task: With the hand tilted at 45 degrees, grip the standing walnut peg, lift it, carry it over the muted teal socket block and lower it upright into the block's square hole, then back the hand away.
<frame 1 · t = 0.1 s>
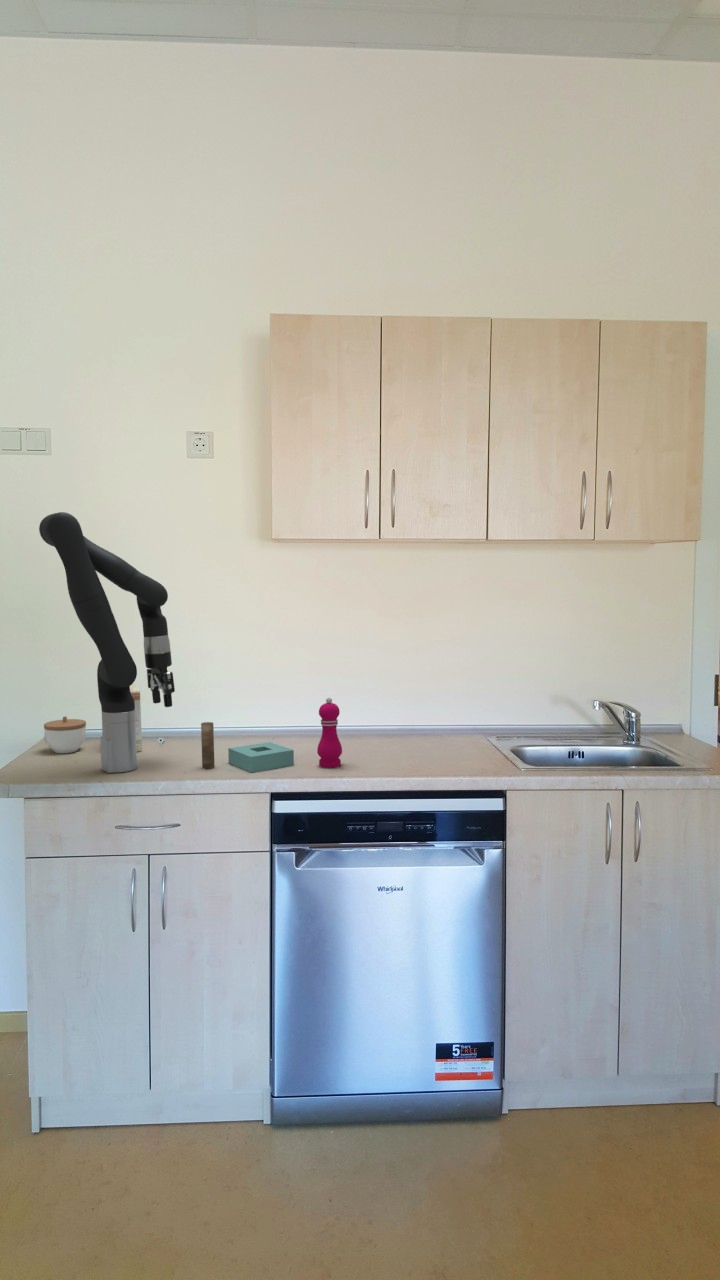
hand: (162, 704, 241), 17 cm above the countertop, tool pointing down, fingers open, 8 cm apart
lidded bowl: (66, 751, 259), on the countertop
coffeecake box: (129, 748, 262), on the countertop
pepper mill: (329, 766, 236), on the countertop
socket block: (261, 764, 239), on the countertop
peg: (208, 767, 235), on the countertop
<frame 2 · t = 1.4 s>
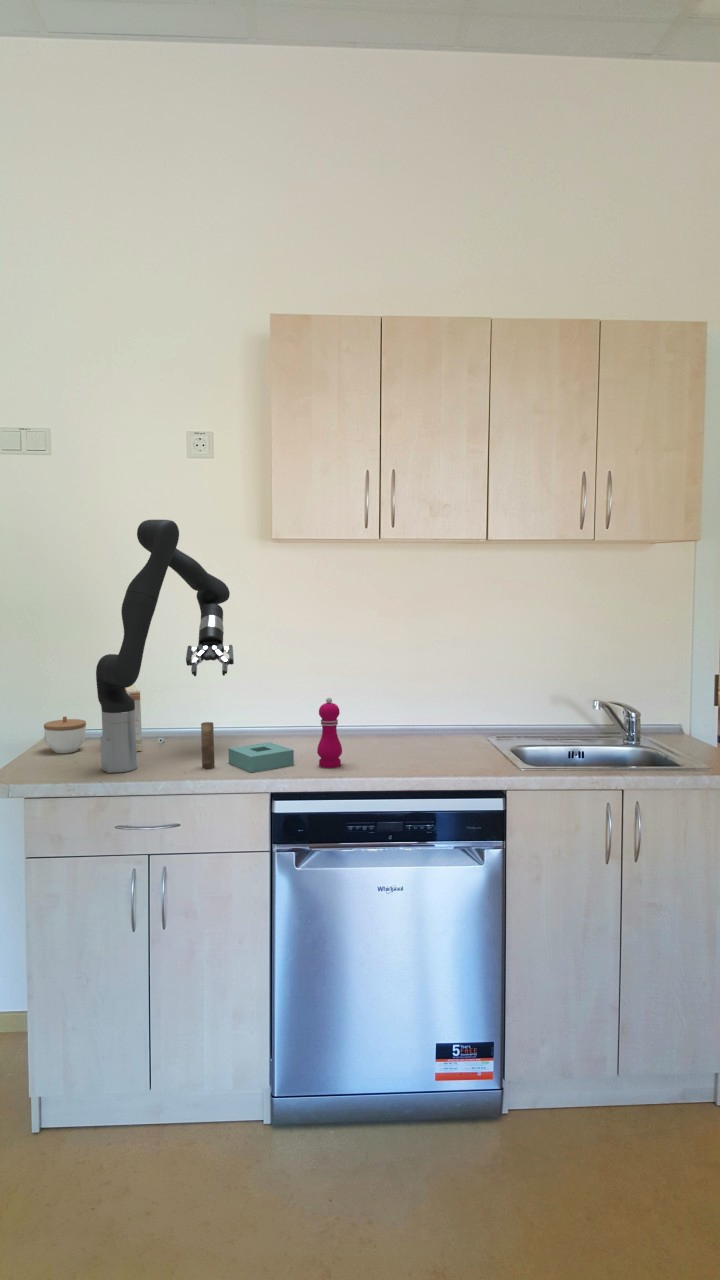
hand: (209, 674, 244), 26 cm above the countertop, tool tilted 45°, fingers open, 8 cm apart
nothing on the countertop moved.
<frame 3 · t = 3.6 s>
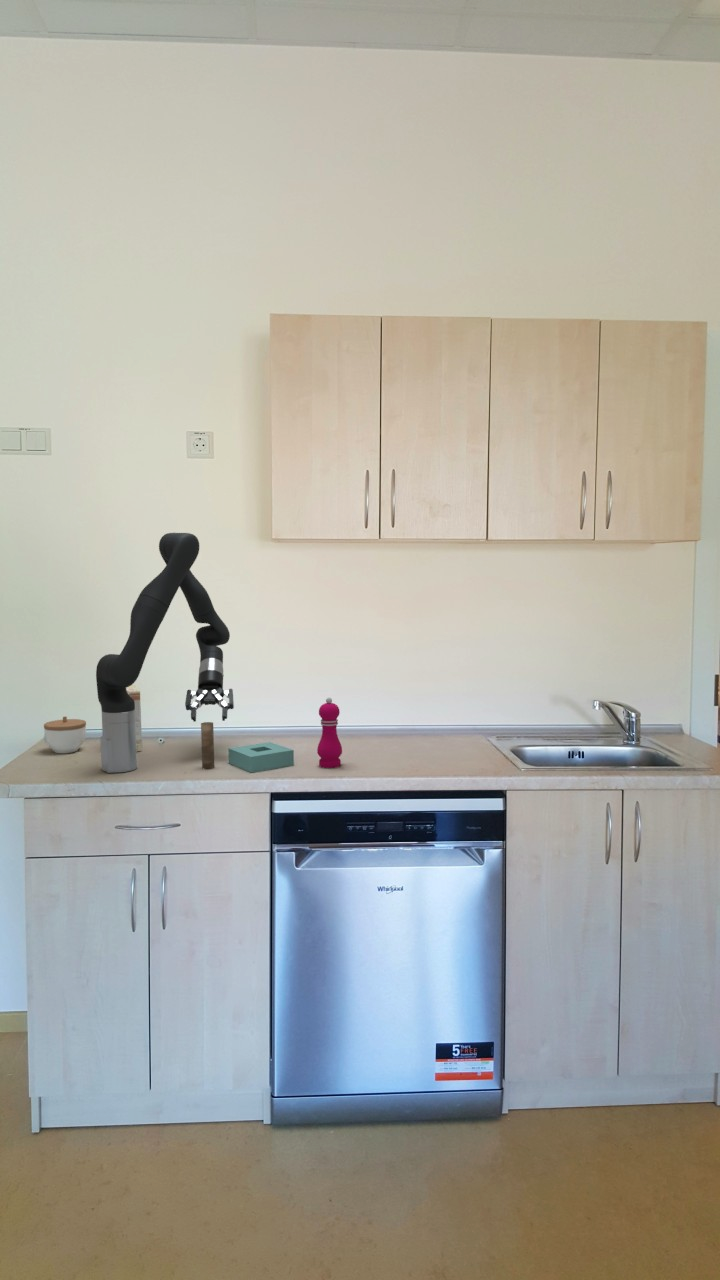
hand: (209, 719, 241), 13 cm above the countertop, tool tilted 45°, fingers open, 8 cm apart
nothing on the countertop moved.
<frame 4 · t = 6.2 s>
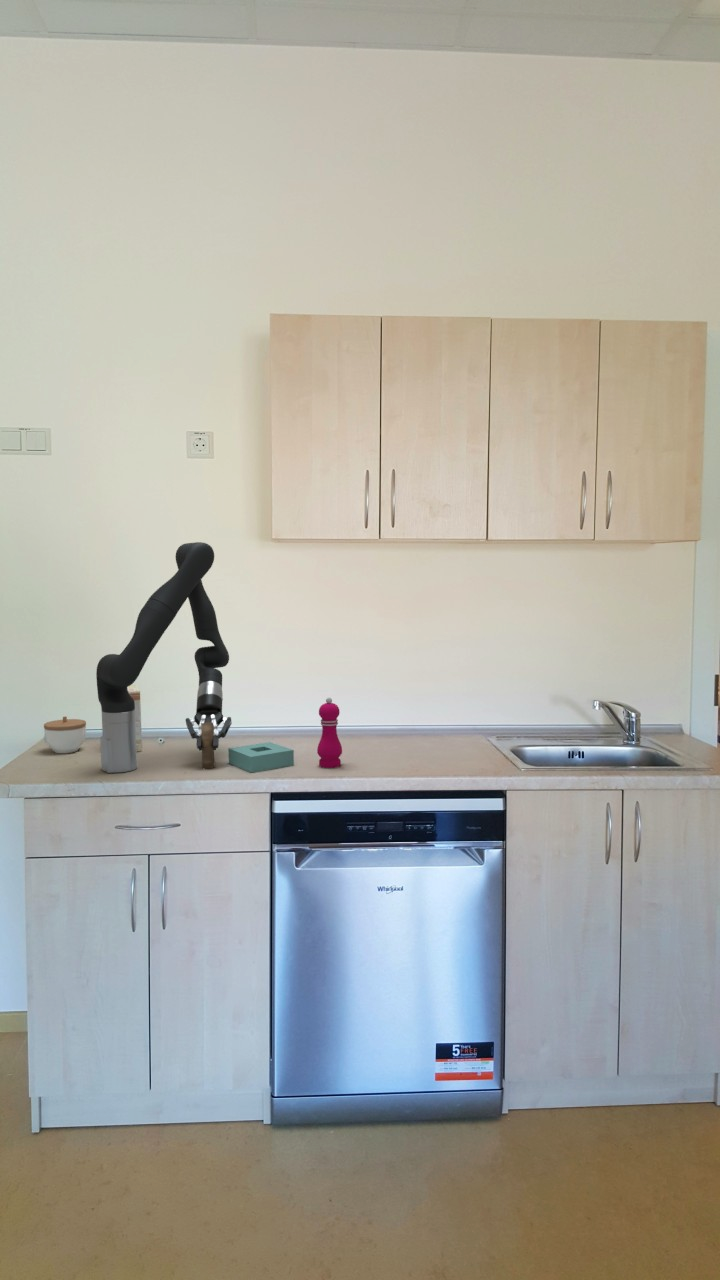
hand: (207, 748, 233), 6 cm above the countertop, tool tilted 45°, fingers closed on peg, 3 cm apart
peg: (208, 767, 235), on the countertop, touching gripper
everything else where it was.
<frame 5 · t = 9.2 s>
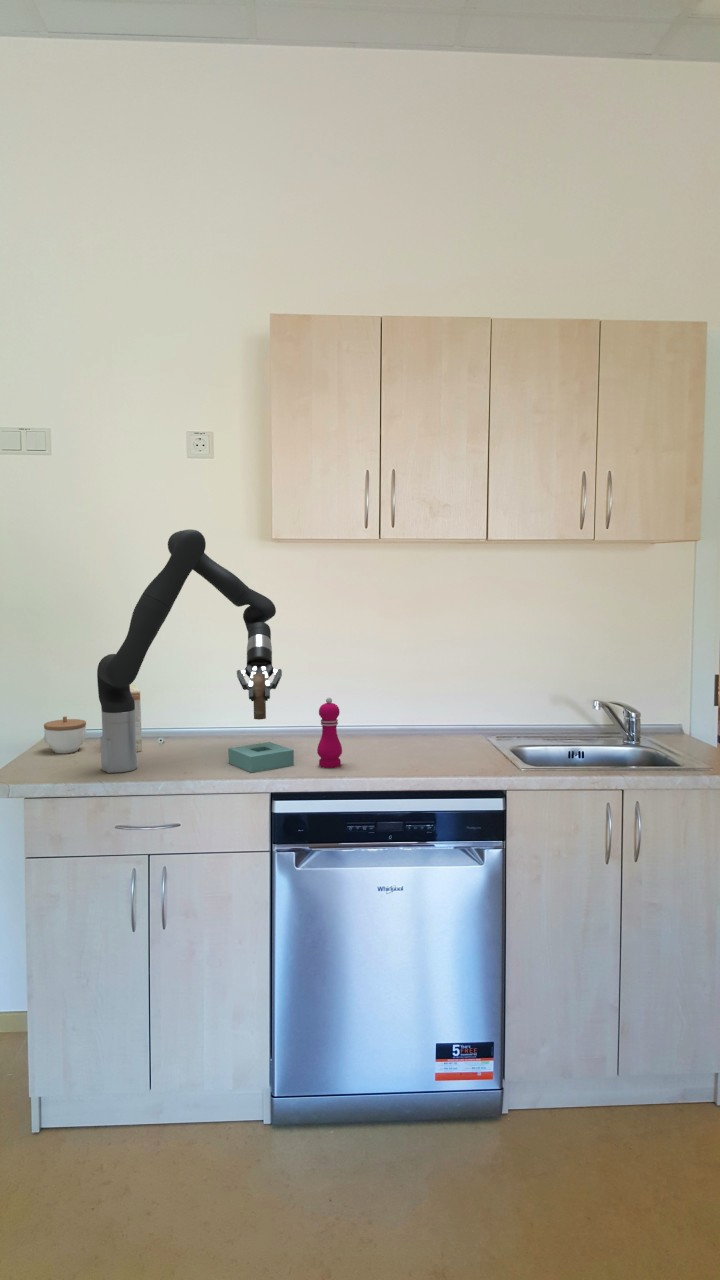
hand: (259, 699, 235), 20 cm above the countertop, tool tilted 45°, fingers closed on peg, 3 cm apart
peg: (259, 718, 237), point 14 cm above the countertop, touching gripper
everything else where it was.
when the fingers open (8 cm above the countertop, at t = 12.1 s): peg drops 2 cm, resting in socket block.
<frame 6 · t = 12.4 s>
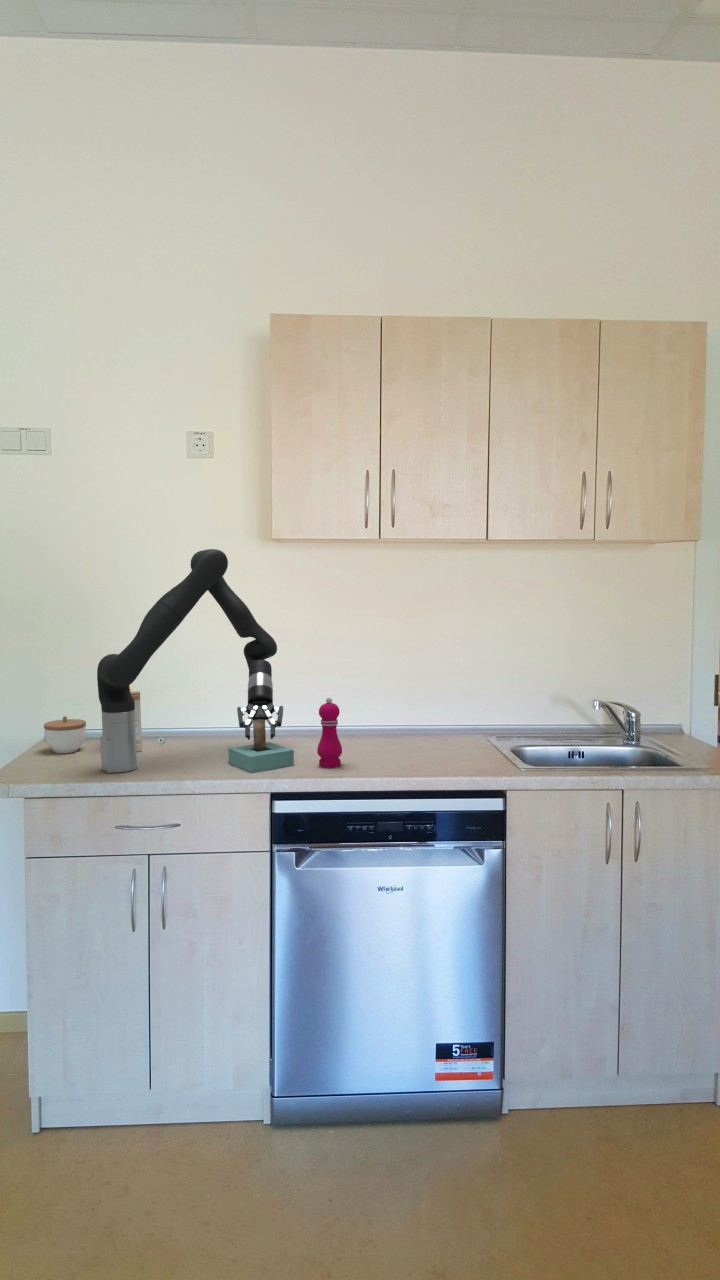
hand: (260, 737, 236), 8 cm above the countertop, tool tilted 45°, fingers open, 6 cm apart
peg: (260, 764, 239), resting in socket block
everything else where it was.
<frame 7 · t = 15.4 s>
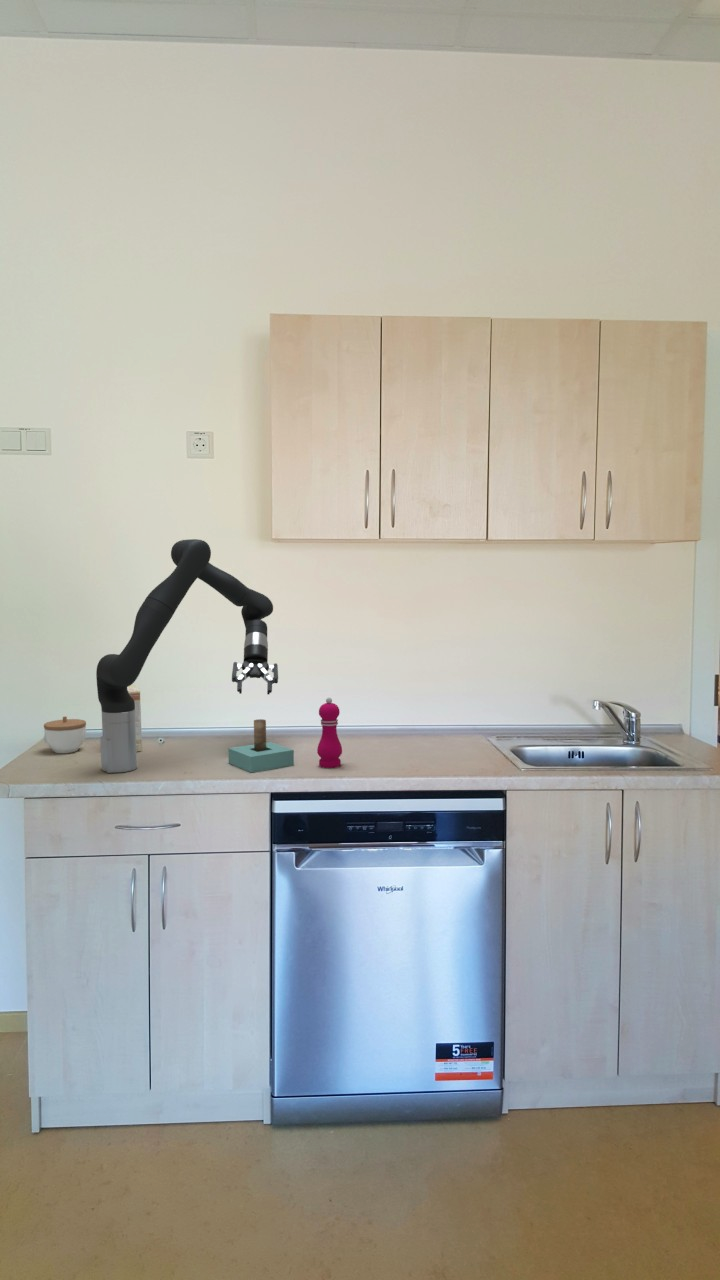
hand: (254, 692, 249), 19 cm above the countertop, tool tilted 40°, fingers open, 8 cm apart
nothing on the countertop moved.
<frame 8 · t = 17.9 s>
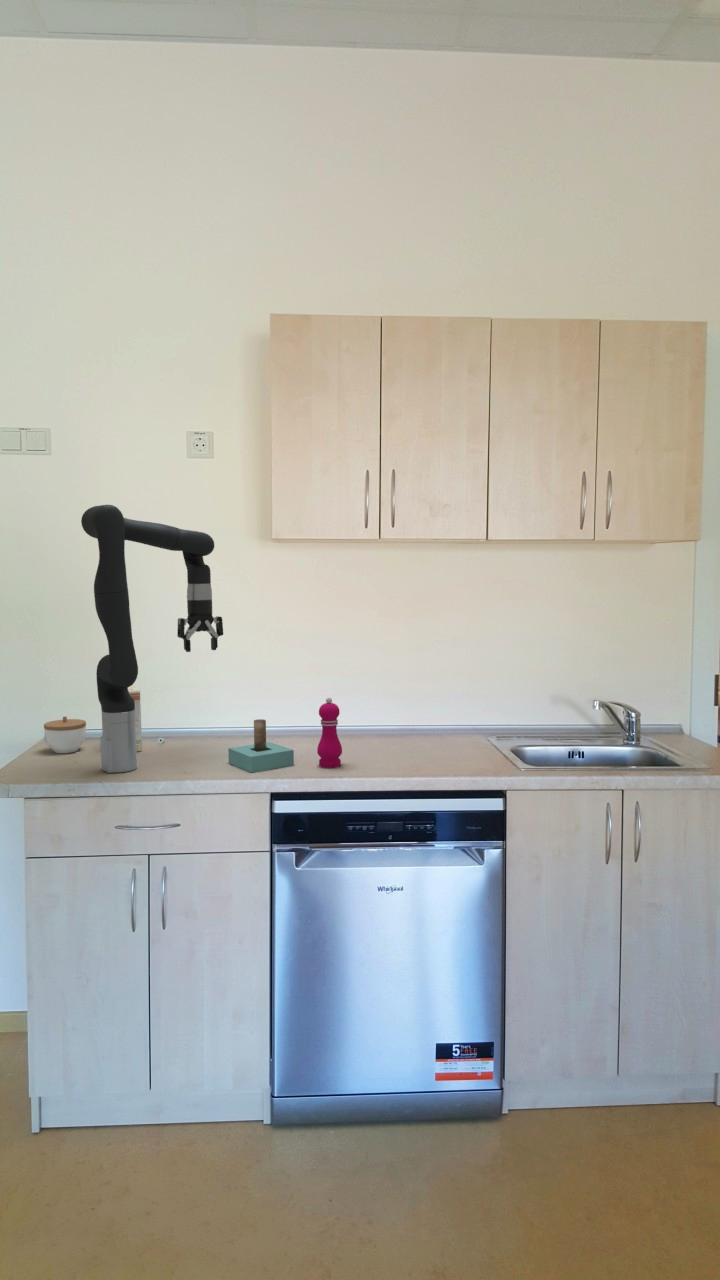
hand: (201, 650, 251), 32 cm above the countertop, tool pointing down, fingers open, 8 cm apart
nothing on the countertop moved.
at the end: peg 0.2 cm off-centre on the socket block, point 0.0 cm above the socket block's base; peg tilted 0°; the gripper is holding nothing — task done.
